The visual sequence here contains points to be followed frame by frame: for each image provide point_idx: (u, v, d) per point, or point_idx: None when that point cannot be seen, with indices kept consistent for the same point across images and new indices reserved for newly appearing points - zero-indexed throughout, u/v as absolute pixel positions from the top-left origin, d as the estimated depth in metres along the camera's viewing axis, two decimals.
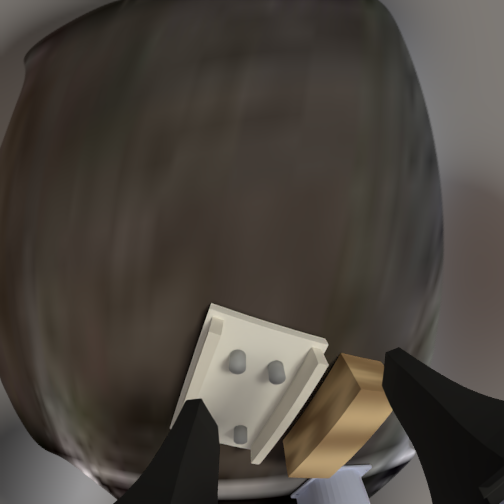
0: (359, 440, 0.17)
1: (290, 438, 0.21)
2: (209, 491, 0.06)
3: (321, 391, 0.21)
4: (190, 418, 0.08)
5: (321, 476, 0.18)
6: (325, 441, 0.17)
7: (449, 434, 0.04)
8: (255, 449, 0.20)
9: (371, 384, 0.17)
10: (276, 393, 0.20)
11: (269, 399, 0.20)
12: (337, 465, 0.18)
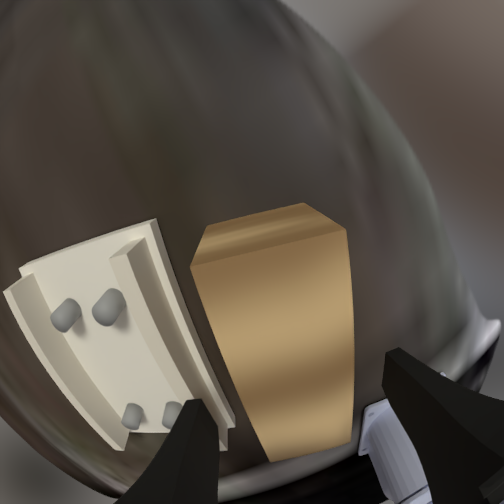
0: (332, 374, 0.09)
1: None
2: (209, 491, 0.06)
3: None
4: (190, 418, 0.08)
5: (330, 445, 0.11)
6: (250, 400, 0.09)
7: (449, 434, 0.04)
8: None
9: (235, 246, 0.08)
10: None
11: None
12: (340, 424, 0.10)
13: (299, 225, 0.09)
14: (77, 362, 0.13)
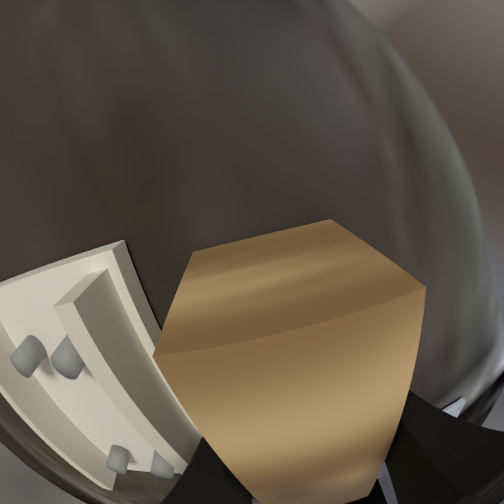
0: (363, 455, 0.06)
1: None
2: (245, 489, 0.06)
3: None
4: None
5: (346, 501, 0.08)
6: (256, 485, 0.06)
7: (412, 455, 0.04)
8: None
9: (233, 313, 0.05)
10: None
11: None
12: (361, 487, 0.07)
13: (340, 269, 0.05)
14: (51, 402, 0.09)
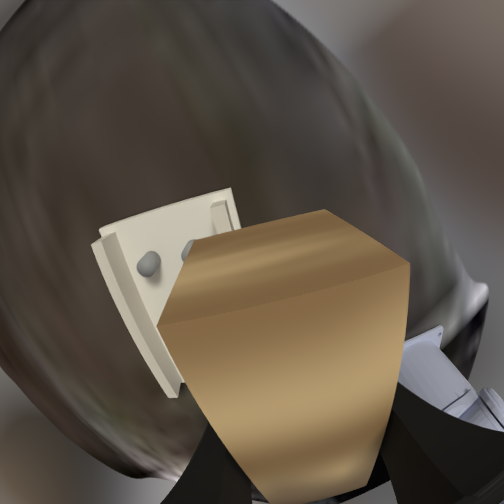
0: (359, 438, 0.06)
1: None
2: (245, 489, 0.06)
3: None
4: None
5: (343, 491, 0.08)
6: (253, 468, 0.06)
7: (411, 455, 0.04)
8: None
9: (231, 288, 0.05)
10: None
11: None
12: (358, 474, 0.07)
13: (330, 250, 0.06)
14: (145, 311, 0.18)
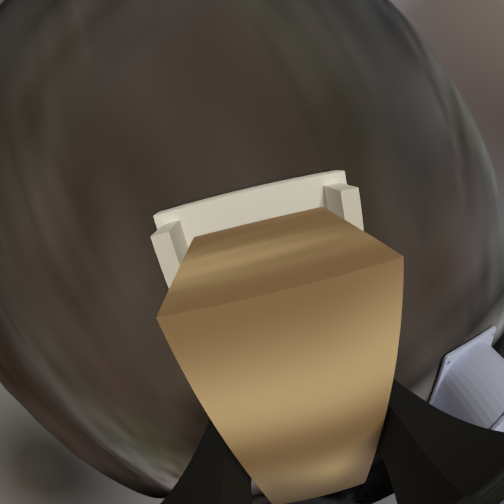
0: (356, 433, 0.06)
1: None
2: (245, 489, 0.06)
3: None
4: None
5: (342, 488, 0.08)
6: (252, 462, 0.06)
7: (411, 455, 0.04)
8: None
9: (229, 281, 0.05)
10: None
11: None
12: (356, 471, 0.08)
13: (326, 245, 0.06)
14: None
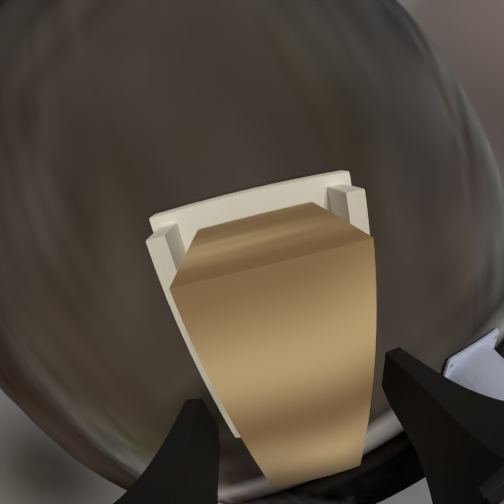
0: (346, 406, 0.07)
1: None
2: (209, 491, 0.06)
3: None
4: (190, 417, 0.08)
5: (338, 470, 0.09)
6: (250, 434, 0.07)
7: (449, 434, 0.04)
8: None
9: (229, 260, 0.06)
10: None
11: None
12: (350, 451, 0.09)
13: (311, 230, 0.07)
14: None
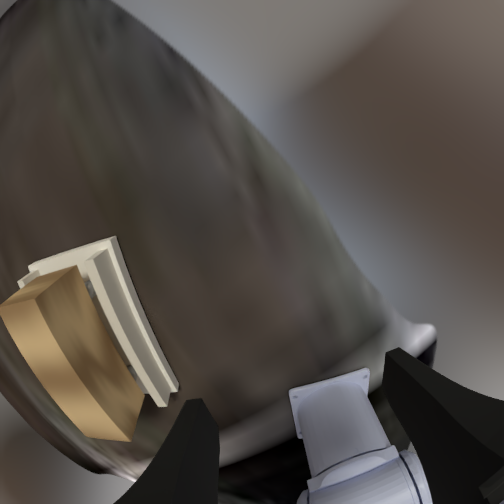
0: (71, 380, 0.12)
1: None
2: (209, 491, 0.06)
3: None
4: (190, 417, 0.08)
5: (116, 437, 0.14)
6: (43, 382, 0.12)
7: (449, 434, 0.04)
8: None
9: (13, 299, 0.11)
10: None
11: None
12: (106, 421, 0.13)
13: (37, 289, 0.12)
14: None
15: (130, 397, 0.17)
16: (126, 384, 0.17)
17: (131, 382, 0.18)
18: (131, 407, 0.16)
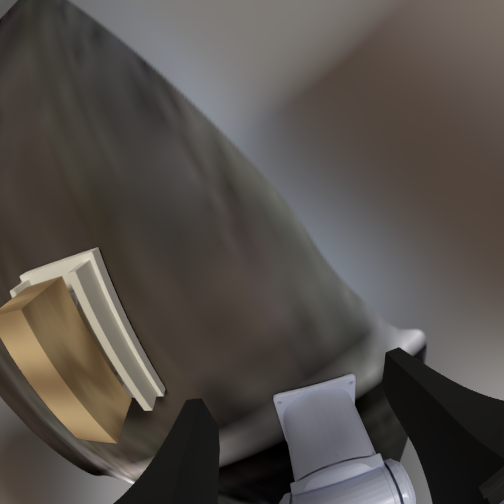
0: (58, 384, 0.12)
1: None
2: (209, 491, 0.06)
3: None
4: (190, 417, 0.08)
5: (103, 439, 0.14)
6: (34, 386, 0.12)
7: (449, 434, 0.04)
8: None
9: (4, 309, 0.11)
10: None
11: None
12: (92, 423, 0.14)
13: (25, 300, 0.12)
14: None
15: (116, 401, 0.17)
16: (112, 388, 0.17)
17: (117, 387, 0.18)
18: (117, 410, 0.16)
